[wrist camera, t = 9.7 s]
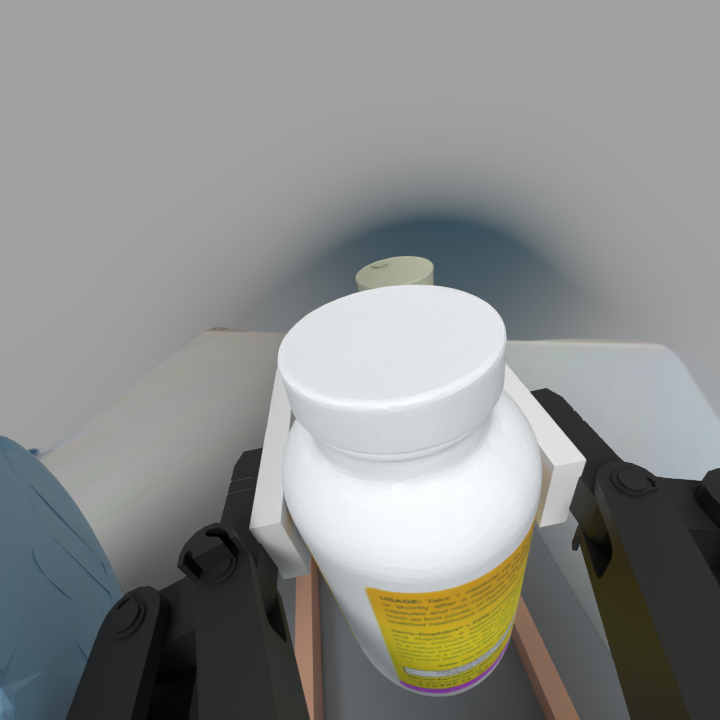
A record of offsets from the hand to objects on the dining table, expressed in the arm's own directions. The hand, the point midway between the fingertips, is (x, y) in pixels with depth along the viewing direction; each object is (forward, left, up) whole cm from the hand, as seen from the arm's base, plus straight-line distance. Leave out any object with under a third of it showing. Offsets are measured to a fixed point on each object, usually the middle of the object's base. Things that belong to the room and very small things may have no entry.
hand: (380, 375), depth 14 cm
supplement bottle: (+4, -2, -8) cm, 9 cm away
